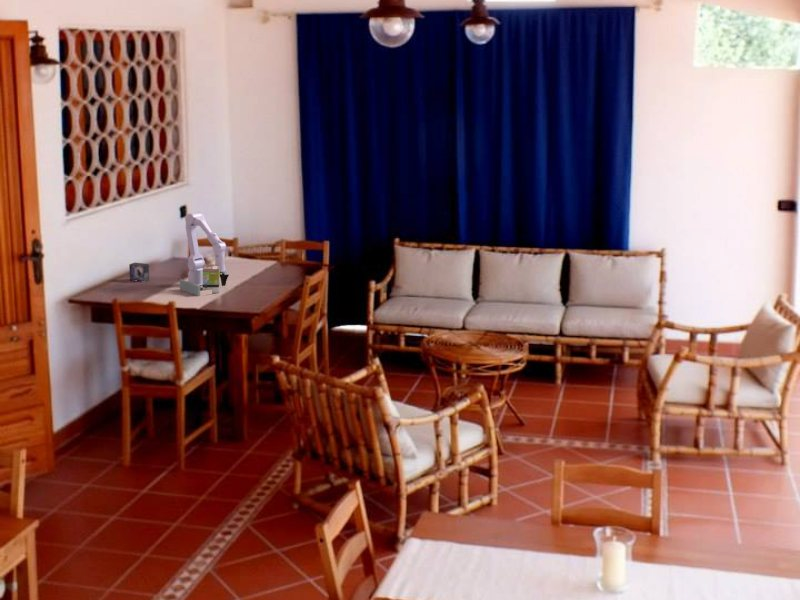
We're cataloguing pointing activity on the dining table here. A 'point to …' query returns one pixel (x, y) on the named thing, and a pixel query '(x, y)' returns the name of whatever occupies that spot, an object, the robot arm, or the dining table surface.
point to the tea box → (211, 278)
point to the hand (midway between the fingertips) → (220, 284)
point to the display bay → (193, 288)
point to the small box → (139, 271)
